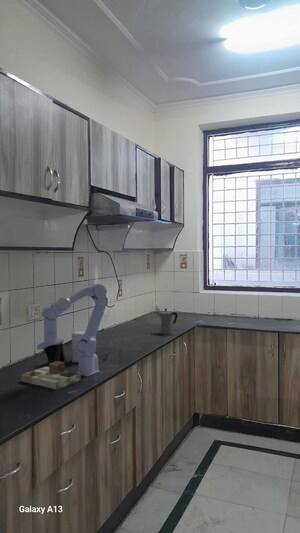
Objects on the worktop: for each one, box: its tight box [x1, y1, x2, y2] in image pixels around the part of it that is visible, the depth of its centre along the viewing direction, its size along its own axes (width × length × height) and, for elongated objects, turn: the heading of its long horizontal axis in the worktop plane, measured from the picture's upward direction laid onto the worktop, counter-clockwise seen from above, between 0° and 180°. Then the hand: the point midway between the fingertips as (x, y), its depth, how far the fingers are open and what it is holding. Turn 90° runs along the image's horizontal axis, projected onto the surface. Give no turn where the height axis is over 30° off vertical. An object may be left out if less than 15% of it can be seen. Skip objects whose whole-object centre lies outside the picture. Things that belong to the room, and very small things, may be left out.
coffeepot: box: [156, 308, 179, 336], centre depth 287 cm, size 15×9×18 cm, turn 70°
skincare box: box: [71, 330, 86, 364], centre depth 216 cm, size 8×7×16 cm
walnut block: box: [48, 361, 66, 374], centre depth 187 cm, size 5×5×4 cm
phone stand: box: [47, 343, 66, 366], centre depth 212 cm, size 9×6×12 cm, turn 166°
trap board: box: [20, 366, 82, 390], centre depth 183 cm, size 15×22×3 cm, turn 58°
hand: (51, 361), depth 183 cm, fingers closed
